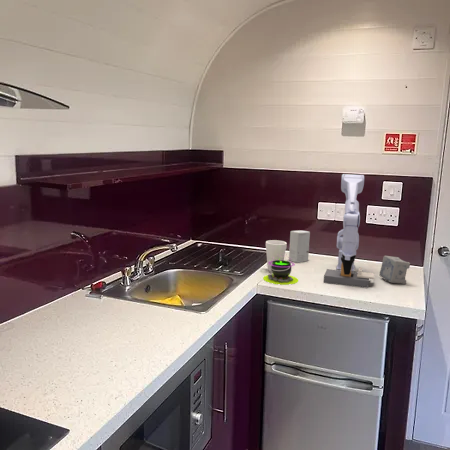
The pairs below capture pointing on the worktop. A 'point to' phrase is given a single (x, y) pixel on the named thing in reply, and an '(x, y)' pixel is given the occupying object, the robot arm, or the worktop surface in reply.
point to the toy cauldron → (281, 273)
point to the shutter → (365, 274)
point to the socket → (345, 279)
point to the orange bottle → (343, 271)
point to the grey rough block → (394, 269)
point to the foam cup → (275, 251)
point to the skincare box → (299, 246)
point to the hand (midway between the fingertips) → (347, 272)
